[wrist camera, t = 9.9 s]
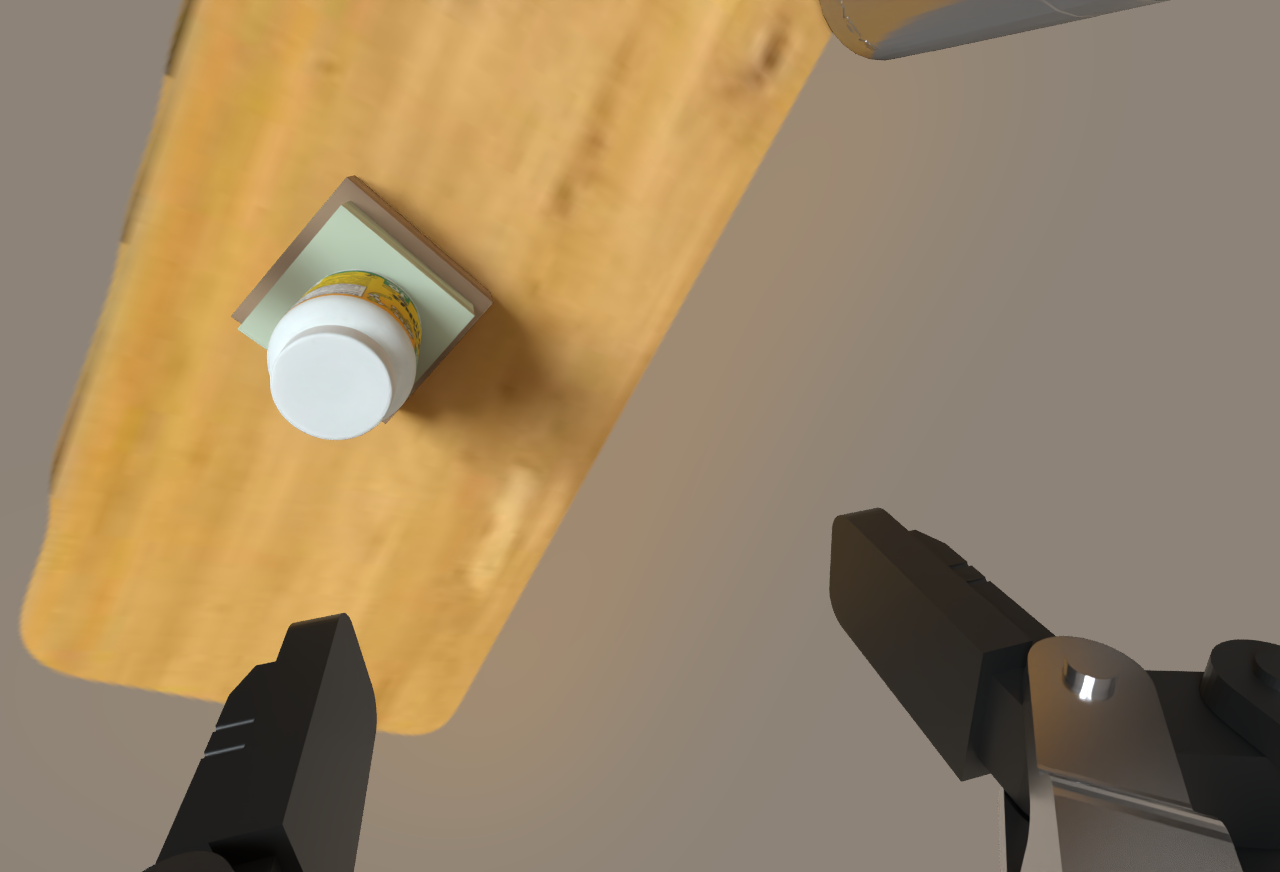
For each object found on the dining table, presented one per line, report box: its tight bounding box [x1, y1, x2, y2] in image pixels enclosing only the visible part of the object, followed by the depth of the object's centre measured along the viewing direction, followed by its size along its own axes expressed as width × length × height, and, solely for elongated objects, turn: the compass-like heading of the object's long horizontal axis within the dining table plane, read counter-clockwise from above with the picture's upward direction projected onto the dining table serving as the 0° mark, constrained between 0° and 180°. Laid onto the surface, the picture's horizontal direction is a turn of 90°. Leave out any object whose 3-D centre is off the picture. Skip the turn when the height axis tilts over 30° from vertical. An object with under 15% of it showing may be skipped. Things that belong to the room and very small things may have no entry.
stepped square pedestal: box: [231, 175, 493, 426], centre depth 35 cm, size 9×9×6 cm
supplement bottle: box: [267, 269, 422, 440], centre depth 28 cm, size 5×5×10 cm
